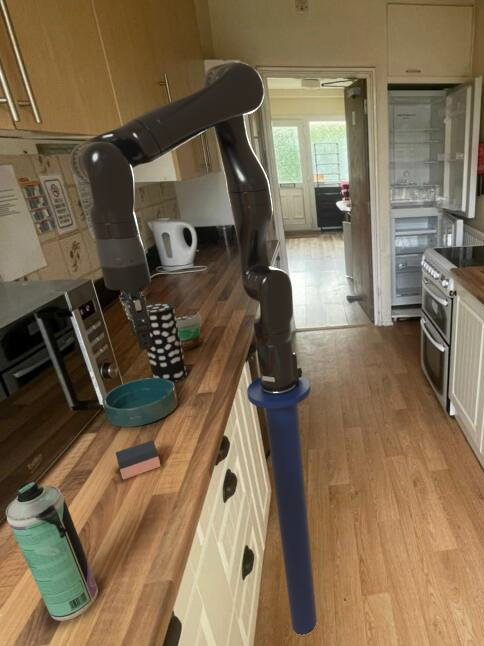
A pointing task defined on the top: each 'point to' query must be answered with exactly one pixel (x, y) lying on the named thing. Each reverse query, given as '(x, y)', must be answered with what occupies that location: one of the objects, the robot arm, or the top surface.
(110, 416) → the bowl
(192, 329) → the food container
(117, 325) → the top surface
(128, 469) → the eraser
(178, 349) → the spotted tube
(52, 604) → the spray can
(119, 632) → the top surface
